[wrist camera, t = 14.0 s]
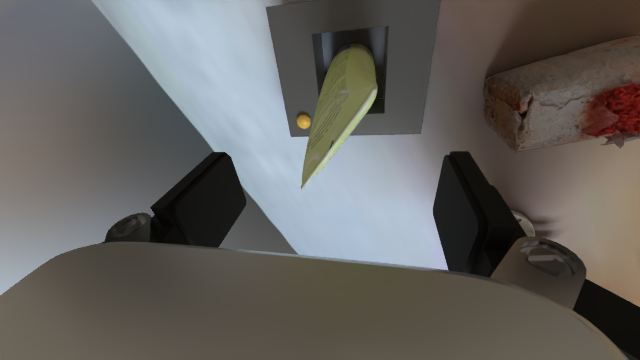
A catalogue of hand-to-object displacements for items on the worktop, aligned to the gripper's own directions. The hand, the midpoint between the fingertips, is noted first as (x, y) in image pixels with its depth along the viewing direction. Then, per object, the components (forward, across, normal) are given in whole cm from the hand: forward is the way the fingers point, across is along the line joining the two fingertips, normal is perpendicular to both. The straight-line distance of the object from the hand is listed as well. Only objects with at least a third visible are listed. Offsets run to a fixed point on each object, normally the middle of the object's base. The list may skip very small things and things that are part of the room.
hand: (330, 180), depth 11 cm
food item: (+23, -21, +3) cm, 31 cm away
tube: (+22, +1, 0) cm, 23 cm away
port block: (+22, +1, -1) cm, 22 cm away
